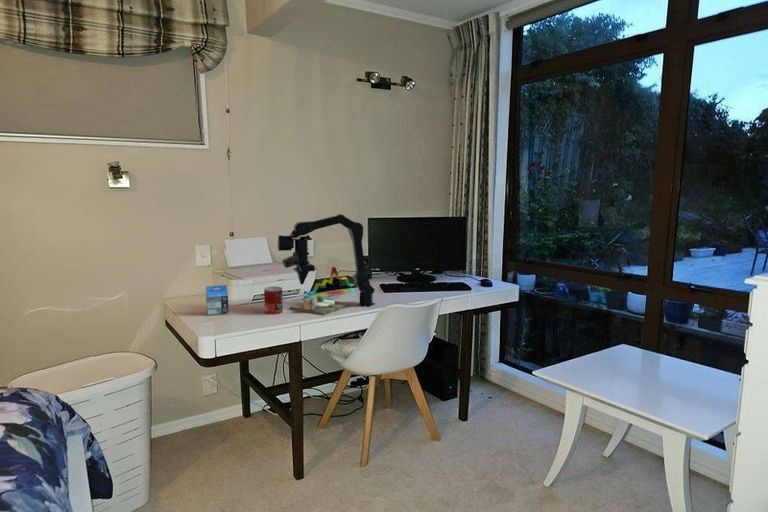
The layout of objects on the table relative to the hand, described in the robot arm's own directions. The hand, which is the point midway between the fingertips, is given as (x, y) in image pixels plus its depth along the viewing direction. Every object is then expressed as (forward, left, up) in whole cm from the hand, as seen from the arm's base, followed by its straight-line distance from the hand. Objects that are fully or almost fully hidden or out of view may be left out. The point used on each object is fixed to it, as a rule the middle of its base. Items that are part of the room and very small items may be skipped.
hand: (301, 284), depth 219 cm
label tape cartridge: (+26, -26, -12) cm, 39 cm away
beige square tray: (-7, +5, -12) cm, 15 cm away
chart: (-30, -7, -12) cm, 33 cm away
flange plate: (-5, +5, -10) cm, 12 cm away
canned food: (+11, -7, -12) cm, 18 cm away
